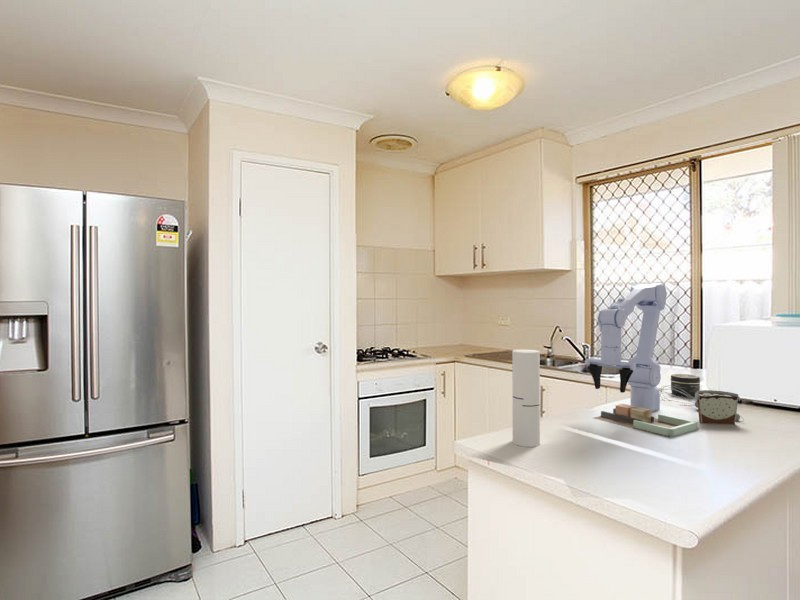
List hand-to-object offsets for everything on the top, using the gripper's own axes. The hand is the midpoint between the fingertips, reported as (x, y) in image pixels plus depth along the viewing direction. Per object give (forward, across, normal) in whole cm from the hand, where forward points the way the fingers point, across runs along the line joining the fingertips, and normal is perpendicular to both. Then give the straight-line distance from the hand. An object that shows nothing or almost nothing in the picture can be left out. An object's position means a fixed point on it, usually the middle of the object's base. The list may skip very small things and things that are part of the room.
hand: (609, 390), depth 145 cm
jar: (+8, +5, +62) cm, 63 cm away
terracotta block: (+9, +3, +5) cm, 11 cm away
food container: (+9, +23, +21) cm, 32 cm away
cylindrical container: (+12, -8, -36) cm, 39 cm away
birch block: (+9, +8, +4) cm, 12 cm away
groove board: (+10, +9, +3) cm, 14 cm away
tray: (+9, +15, +2) cm, 18 cm away
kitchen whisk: (+9, +15, +39) cm, 43 cm away
